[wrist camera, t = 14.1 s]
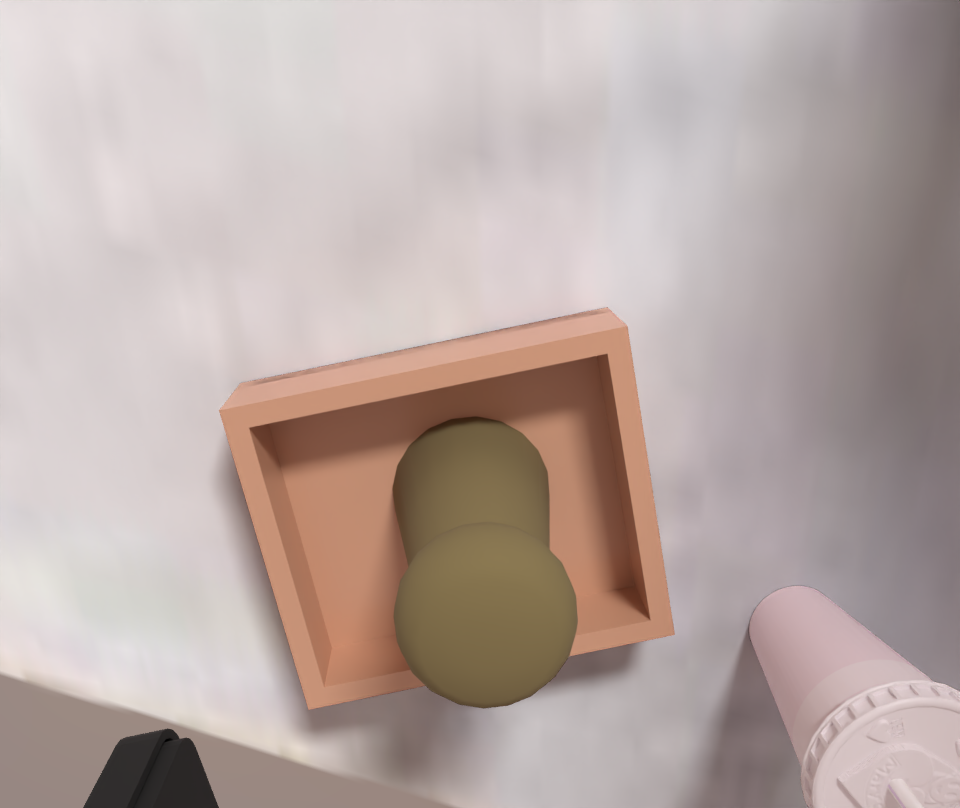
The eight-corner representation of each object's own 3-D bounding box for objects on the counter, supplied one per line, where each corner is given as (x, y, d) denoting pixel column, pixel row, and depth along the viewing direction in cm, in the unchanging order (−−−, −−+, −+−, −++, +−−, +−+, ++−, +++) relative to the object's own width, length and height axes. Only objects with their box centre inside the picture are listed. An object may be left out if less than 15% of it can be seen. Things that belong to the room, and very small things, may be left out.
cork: (514, 582, 35) (550, 770, 25) (370, 534, 34) (343, 707, 24) (574, 447, 34) (639, 586, 23) (425, 393, 33) (422, 512, 22)
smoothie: (734, 549, 36) (911, 788, 23) (883, 562, 37) (1142, 803, 23) (704, 685, 38) (853, 981, 25) (847, 696, 39) (1069, 991, 25)
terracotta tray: (607, 307, 33) (627, 325, 30) (652, 589, 37) (674, 634, 33) (240, 383, 33) (219, 410, 30) (319, 657, 37) (308, 709, 33)
